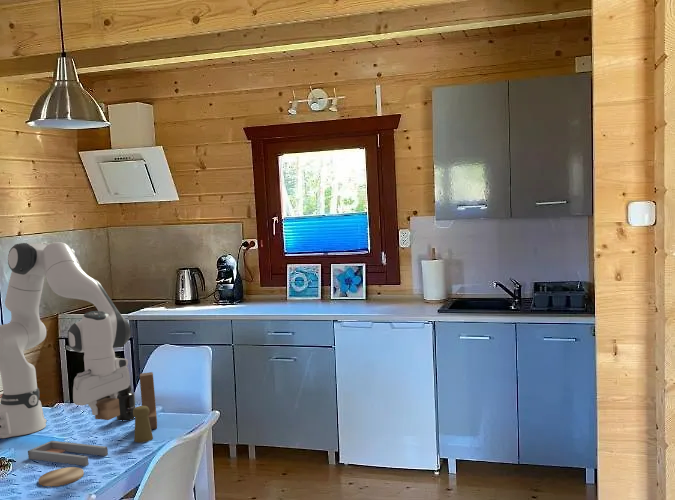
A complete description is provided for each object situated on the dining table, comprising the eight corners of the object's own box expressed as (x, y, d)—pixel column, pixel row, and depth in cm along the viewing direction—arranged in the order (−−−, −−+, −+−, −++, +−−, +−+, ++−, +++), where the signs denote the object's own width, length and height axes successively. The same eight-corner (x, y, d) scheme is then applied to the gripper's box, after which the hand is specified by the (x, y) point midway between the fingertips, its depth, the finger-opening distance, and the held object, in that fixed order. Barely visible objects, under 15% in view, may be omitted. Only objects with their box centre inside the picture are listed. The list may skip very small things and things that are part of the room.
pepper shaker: (142, 443, 220) (139, 410, 219) (130, 441, 223) (127, 408, 222) (157, 437, 225) (154, 404, 224) (144, 435, 228) (141, 403, 228)
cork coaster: (29, 484, 192) (28, 481, 192) (62, 468, 203) (61, 465, 203) (60, 488, 187) (60, 486, 187) (92, 472, 198) (92, 469, 198)
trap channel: (28, 458, 213) (27, 450, 213) (52, 448, 222) (51, 440, 221) (85, 465, 203) (84, 457, 203) (108, 454, 212) (107, 446, 212)
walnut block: (95, 418, 203) (93, 402, 202) (107, 413, 207) (105, 397, 207) (108, 420, 201) (106, 403, 200) (120, 414, 205) (118, 398, 205)
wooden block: (157, 428, 234) (152, 377, 233) (143, 430, 233) (139, 379, 232) (157, 421, 243) (152, 371, 242) (144, 423, 242) (139, 373, 240)
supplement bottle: (133, 421, 245) (130, 388, 244) (114, 422, 245) (111, 389, 244) (138, 415, 252) (135, 383, 251) (120, 416, 252) (117, 384, 251)
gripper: (82, 375, 193) (86, 423, 194) (131, 358, 211) (135, 402, 212) (65, 374, 195) (69, 421, 196) (115, 357, 214) (119, 400, 215)
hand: (104, 411), depth 204 cm, fingers closed on walnut block, 5 cm apart
